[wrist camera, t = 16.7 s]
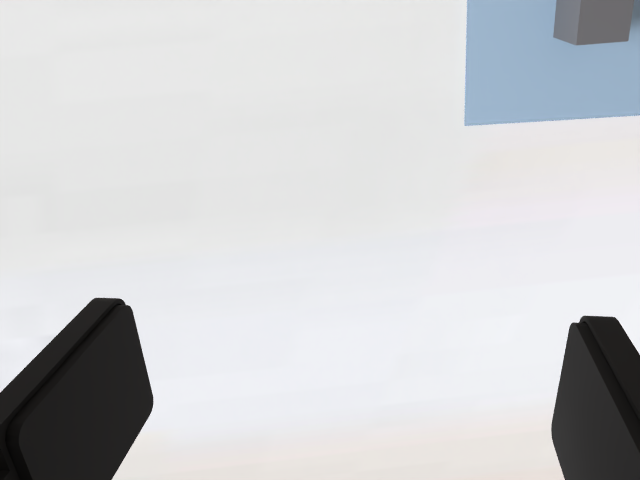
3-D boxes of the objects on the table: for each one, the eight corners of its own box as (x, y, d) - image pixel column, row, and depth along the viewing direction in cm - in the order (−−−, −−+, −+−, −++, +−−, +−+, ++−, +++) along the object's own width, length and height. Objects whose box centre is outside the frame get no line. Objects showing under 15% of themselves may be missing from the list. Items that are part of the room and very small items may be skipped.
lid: (715, -130, 33) (779, -152, 28) (669, 110, 40) (714, 132, 34) (468, -99, 36) (481, -114, 30) (463, 123, 42) (473, 145, 36)
